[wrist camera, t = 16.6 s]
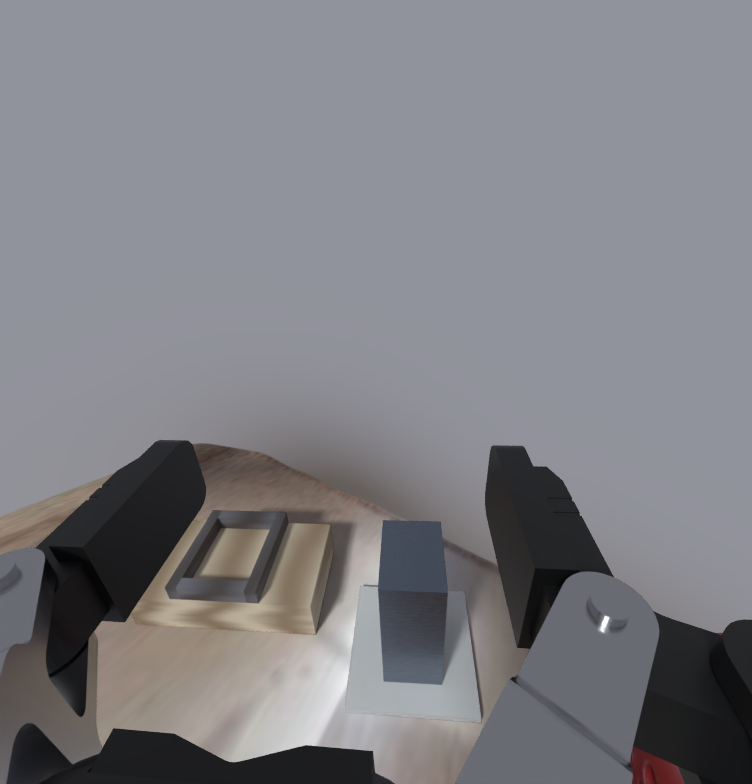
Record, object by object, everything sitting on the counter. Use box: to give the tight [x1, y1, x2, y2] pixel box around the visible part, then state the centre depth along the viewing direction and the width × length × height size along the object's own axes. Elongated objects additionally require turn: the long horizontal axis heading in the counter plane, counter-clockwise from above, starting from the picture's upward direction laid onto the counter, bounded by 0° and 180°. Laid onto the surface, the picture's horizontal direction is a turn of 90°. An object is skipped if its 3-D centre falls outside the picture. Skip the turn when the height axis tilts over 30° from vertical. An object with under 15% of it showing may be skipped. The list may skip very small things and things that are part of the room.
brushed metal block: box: [378, 520, 448, 685], centre depth 30 cm, size 4×6×11 cm
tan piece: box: [131, 510, 334, 635], centre depth 37 cm, size 17×9×6 cm, turn 85°
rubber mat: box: [344, 586, 481, 723], centre depth 32 cm, size 10×10×1 cm
